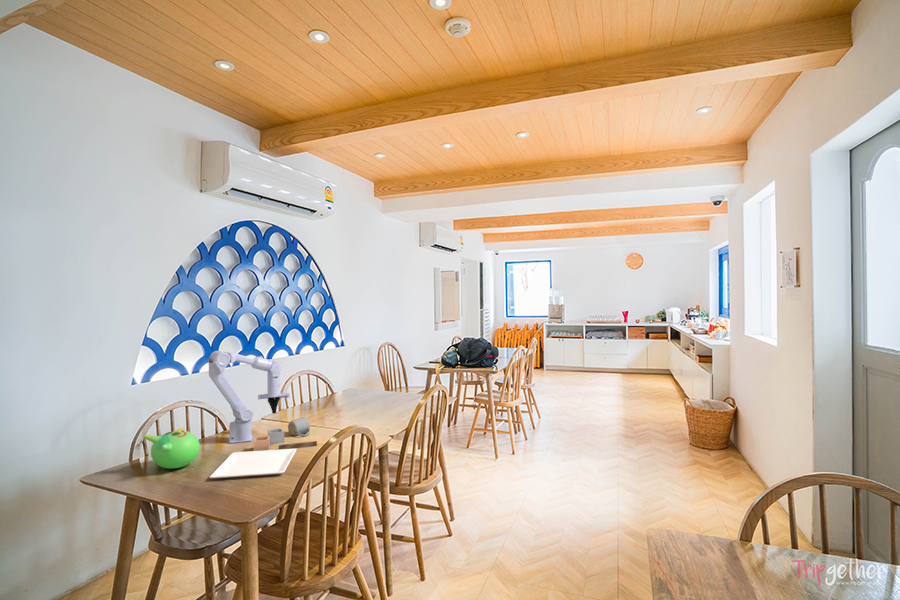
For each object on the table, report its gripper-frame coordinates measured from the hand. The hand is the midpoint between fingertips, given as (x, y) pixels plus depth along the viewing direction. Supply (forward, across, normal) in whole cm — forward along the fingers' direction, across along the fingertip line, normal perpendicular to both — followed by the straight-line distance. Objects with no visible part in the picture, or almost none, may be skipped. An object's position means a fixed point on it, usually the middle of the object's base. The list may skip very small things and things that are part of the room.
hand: (274, 412), depth 217 cm
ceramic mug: (+10, +13, -6) cm, 18 cm away
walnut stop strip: (+10, +14, -25) cm, 30 cm away
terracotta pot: (+10, -1, -25) cm, 27 cm away
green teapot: (+10, -32, -37) cm, 49 cm away
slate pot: (+10, +3, -14) cm, 18 cm away
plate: (+10, 0, -44) cm, 45 cm away
